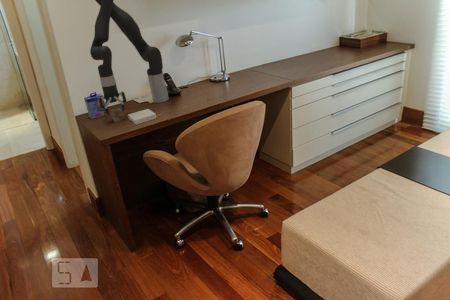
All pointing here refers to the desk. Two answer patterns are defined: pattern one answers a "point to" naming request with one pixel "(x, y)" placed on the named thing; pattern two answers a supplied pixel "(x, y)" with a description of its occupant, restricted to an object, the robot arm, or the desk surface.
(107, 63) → the robot arm
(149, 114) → the riser
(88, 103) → the ink cartridge box
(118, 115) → the block
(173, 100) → the desk surface
